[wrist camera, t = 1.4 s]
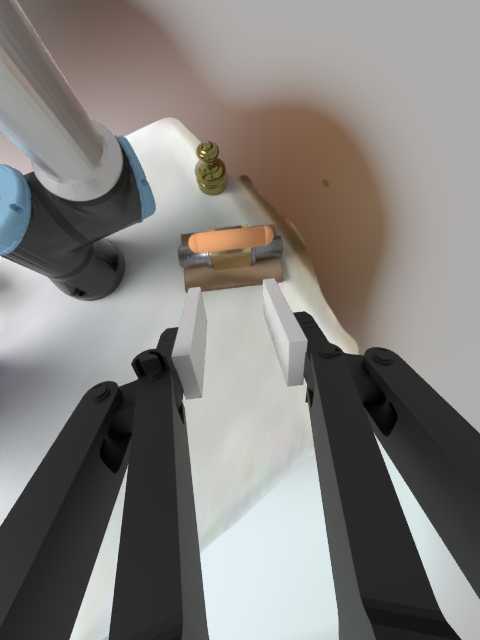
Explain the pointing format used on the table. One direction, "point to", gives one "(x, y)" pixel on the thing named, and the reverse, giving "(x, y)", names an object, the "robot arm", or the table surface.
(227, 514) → the table surface
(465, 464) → the robot arm
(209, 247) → the valve lever
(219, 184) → the gold pawn figurine
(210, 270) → the pipe valve
